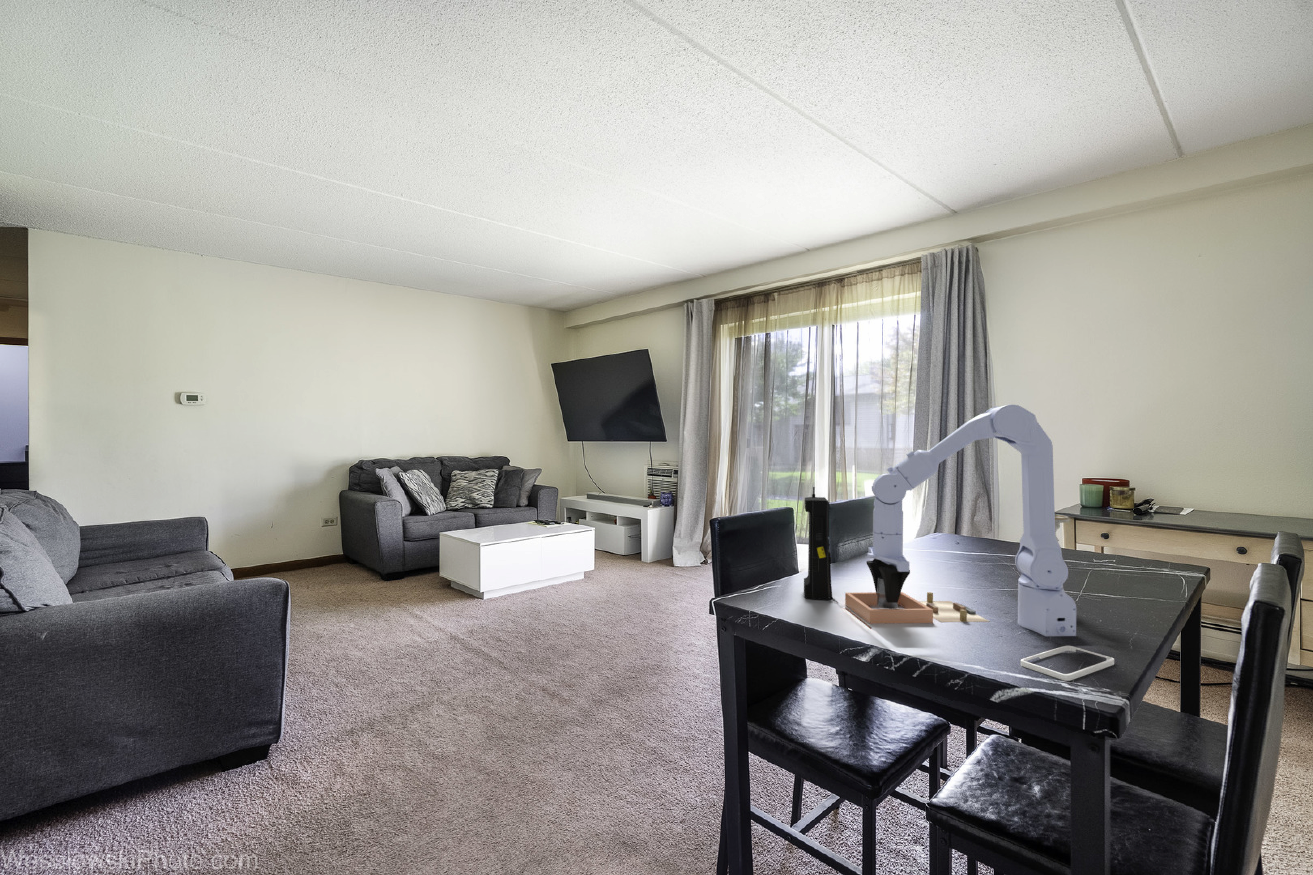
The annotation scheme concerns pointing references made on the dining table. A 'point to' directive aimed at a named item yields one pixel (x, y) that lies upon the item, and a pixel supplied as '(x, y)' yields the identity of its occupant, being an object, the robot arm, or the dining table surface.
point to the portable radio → (818, 550)
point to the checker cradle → (951, 611)
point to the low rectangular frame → (911, 614)
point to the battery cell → (883, 596)
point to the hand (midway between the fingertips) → (887, 598)
